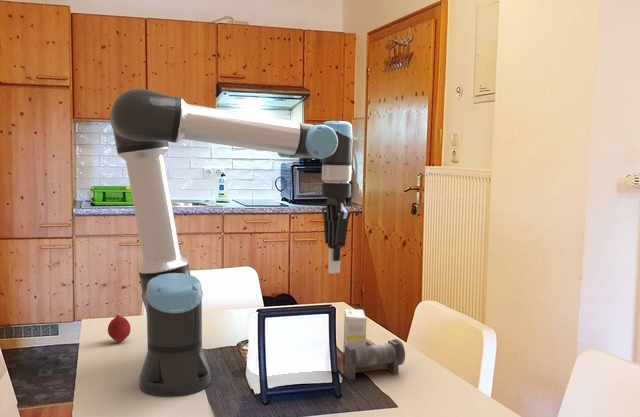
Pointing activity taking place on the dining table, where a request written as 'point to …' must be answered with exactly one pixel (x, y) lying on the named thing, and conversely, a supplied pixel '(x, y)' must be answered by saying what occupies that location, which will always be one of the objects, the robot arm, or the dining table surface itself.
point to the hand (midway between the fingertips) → (334, 272)
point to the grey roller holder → (371, 358)
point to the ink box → (354, 328)
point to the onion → (119, 328)
